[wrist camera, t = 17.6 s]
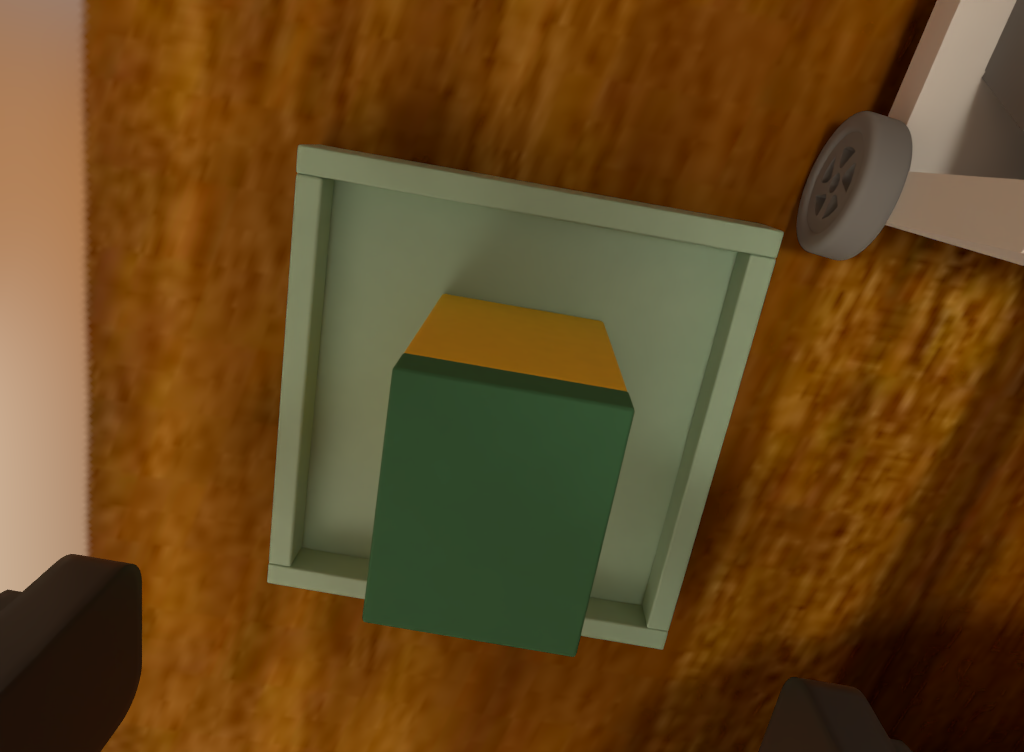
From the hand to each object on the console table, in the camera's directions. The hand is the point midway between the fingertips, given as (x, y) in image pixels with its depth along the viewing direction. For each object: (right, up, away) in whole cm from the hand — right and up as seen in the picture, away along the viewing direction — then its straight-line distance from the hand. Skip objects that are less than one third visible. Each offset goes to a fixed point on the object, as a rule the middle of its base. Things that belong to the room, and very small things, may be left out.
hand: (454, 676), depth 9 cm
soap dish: (+1, +3, +10) cm, 10 cm away
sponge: (+1, +3, +9) cm, 10 cm away
